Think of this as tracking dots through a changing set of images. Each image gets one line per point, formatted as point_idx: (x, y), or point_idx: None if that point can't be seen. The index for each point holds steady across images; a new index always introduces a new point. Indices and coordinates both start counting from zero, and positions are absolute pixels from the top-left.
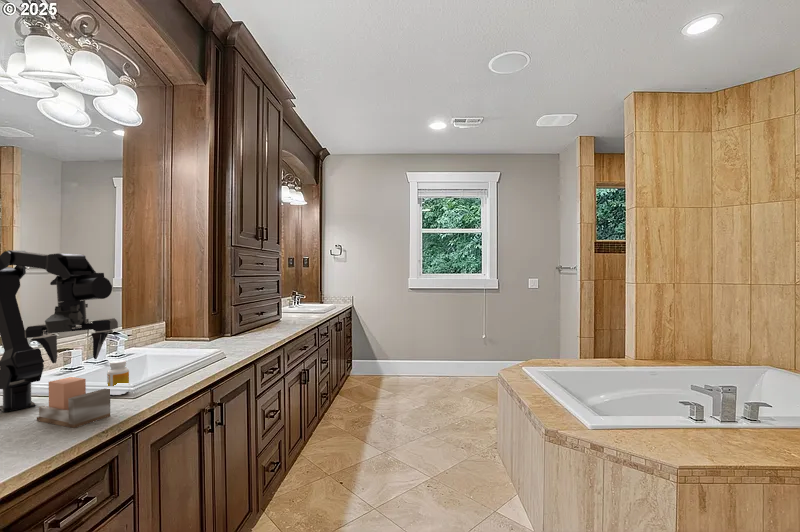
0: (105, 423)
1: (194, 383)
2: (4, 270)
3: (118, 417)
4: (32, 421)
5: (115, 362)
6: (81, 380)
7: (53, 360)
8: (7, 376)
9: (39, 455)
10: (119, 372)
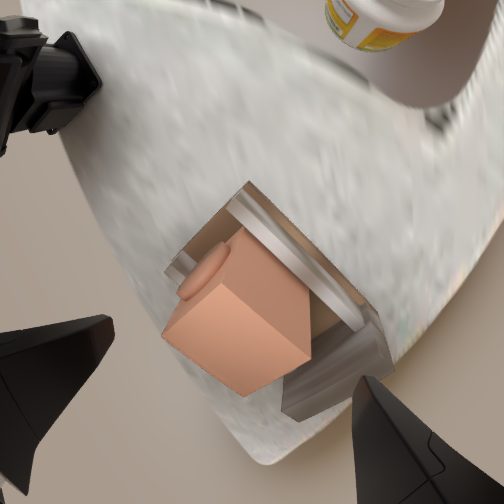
0: None
1: None
2: None
3: (395, 329)
4: (166, 257)
5: None
6: (296, 364)
7: (105, 352)
8: None
9: (276, 441)
10: (414, 29)
